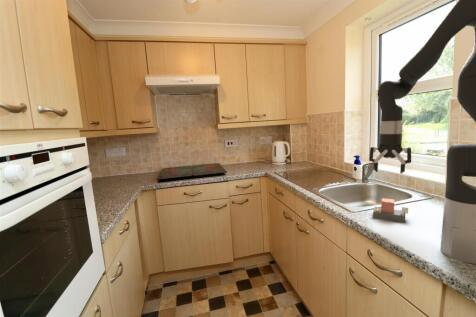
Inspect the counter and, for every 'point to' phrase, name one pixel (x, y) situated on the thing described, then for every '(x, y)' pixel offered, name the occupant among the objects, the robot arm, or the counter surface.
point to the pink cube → (387, 205)
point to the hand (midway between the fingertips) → (388, 172)
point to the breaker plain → (404, 209)
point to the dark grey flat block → (389, 215)
